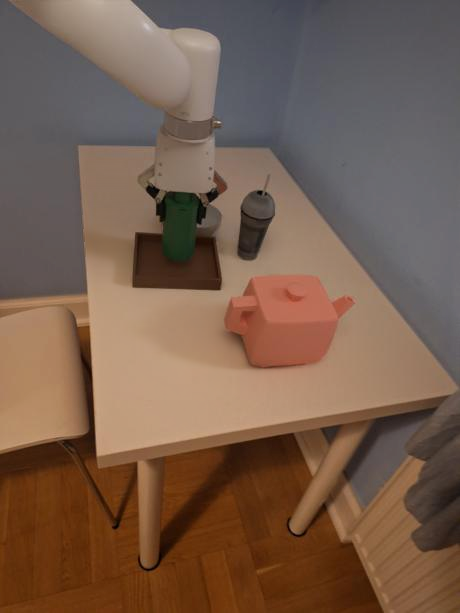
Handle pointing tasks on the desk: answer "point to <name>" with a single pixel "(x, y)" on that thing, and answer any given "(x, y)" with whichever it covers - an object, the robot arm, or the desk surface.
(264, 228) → the beverage cup
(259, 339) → the teapot
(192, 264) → the tray
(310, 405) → the desk surface
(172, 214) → the bottle
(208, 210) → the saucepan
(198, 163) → the robot arm
